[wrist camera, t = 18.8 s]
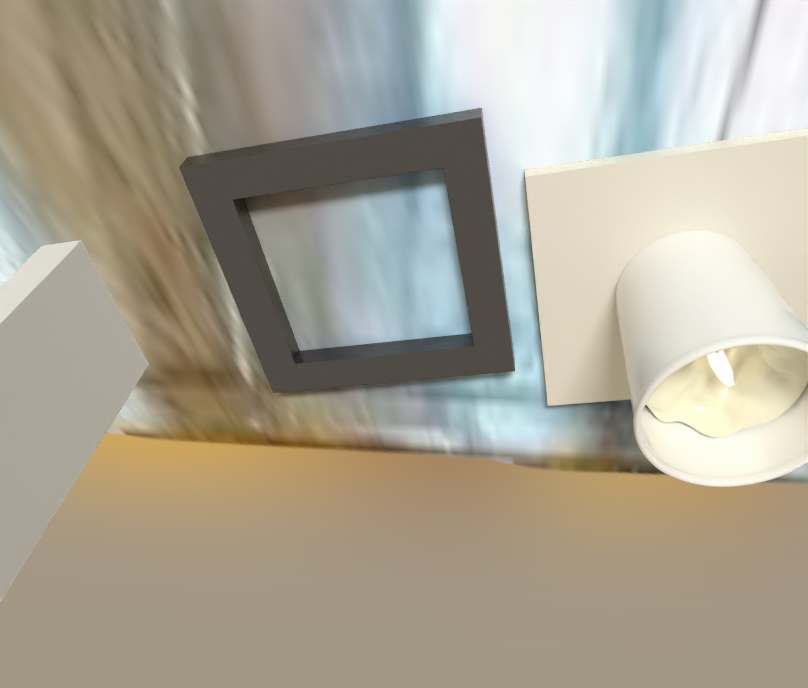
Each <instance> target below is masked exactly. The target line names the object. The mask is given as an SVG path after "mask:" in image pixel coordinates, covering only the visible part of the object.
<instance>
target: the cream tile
mask: <svg viewBox="0 0 808 688" xmlns="http://www.w3.org/2000/svg"><path fill="white" fill-rule="evenodd" d="M524 171H525V181H526V191H527V201H528V211H529V221H530V231H531V241H532V251H533V262H534V272H535V282H536V292H537V302H538V312H539V322H540V332H541V342H542V352H543V362H544V372H545V382H546V392H547V402H548V406H553V405H566V404H578V403H591V402H604V401H616V400H629V399H630V393H629V387H628V381H627V374H626V368H625V362H624V356H623V349H622V343H621V337H620V330H619V324H618V317H617V309H616V288H617V284H618V281H619V278H620V275H621V273H622V271H623V270H624V268H625V267H626V265H627V264H628V262H629V261H630V260H631V259H632V258H633V257H634V256H635V255H636V254H637V253H638V252H639V251H640V250H641V249H643V248H644V247H646V246H647V245H649V244H650V243H652V242H654V241H655V240H657V239H660V238H662V237H664V236H667V235H670V234H673V233H677V232H682V231H689V230H706V231H712V232H717V233H720V234H723V235H726V236H728V237H730V238H732V239H734V240H735V241H737V242H738V243H740V244H741V245H742V246H743V247H744V248H745V249H746V250H747V251H748V252H749V253H750V254H751V255H752V257H753V258H754V259H755V260H756V262H757V263H758V264H759V265H760V267H761V268H762V269H763V271H764V272H765V273H766V274H767V276H768V277H769V278H770V280H771V281H772V282H773V283H774V285H775V286H776V287H777V289H778V290H779V291H780V293H781V294H782V295H783V297H784V298H785V299H786V300H787V302H788V303H789V304H790V306H791V307H792V308H793V310H794V311H795V312H796V314H797V315H798V316H799V317H800V319H801V320H802V321H803V323H804V324H805V325H806V327H807V328H808V128H804V129H797V130H790V131H783V132H777V133H770V134H763V135H756V136H750V137H743V138H736V139H729V140H723V141H716V142H709V143H702V144H695V145H689V146H682V147H675V148H668V149H662V150H655V151H648V152H641V153H635V154H628V155H621V156H614V157H608V158H601V159H594V160H587V161H580V162H574V163H567V164H560V165H553V166H547V167H540V168H533V169H526V170H524Z"/></svg>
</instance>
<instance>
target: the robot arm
mask: <svg viewBox="0 0 808 688" xmlns="http://www.w3.org/2000/svg"><path fill="white" fill-rule="evenodd" d="M148 365H149V364H148V362H147V360H146V358H145V356H144V354H143V353H142V351H141V349H140V347H139V345H138V343H137V341H136V340H135V338H134V336H133V334H132V332H131V330H130V329H129V327H128V325H127V323H126V321H125V319H124V318H123V316H122V314H121V312H120V310H119V308H118V307H117V305H116V303H115V301H114V299H113V297H112V295H111V294H110V292H109V290H108V288H107V286H106V284H105V283H104V281H103V279H102V277H101V275H100V273H99V272H98V270H97V268H96V266H95V264H94V262H93V260H92V259H91V257H90V255H89V253H88V251H87V249H86V248H85V246H84V244H83V242H82V240H79V241H72V242H65V243H59V244H52V245H45V246H42V247H41V248H40V249H39V250H38V251H37V252H36V253H34V254H33V255H32V256H31V257H30V258H29V259H28V260H27V261H26V262H25V263H24V264H23V265H22V266H21V267H20V268H19V269H18V270H17V271H16V272H14V273H13V274H12V275H11V276H10V277H9V278H8V279H7V280H6V281H5V282H4V283H3V284H2V285H1V286H0V602H1V600H2V598H3V597H4V595H5V594H6V592H7V590H8V589H9V587H10V585H11V584H12V582H13V581H14V579H15V578H16V576H17V574H18V573H19V571H20V569H21V568H22V566H23V565H24V563H25V562H26V560H27V558H28V557H29V555H30V553H31V552H32V550H33V549H34V547H35V545H36V544H37V542H38V541H39V539H40V537H41V536H42V534H43V533H44V531H45V530H46V528H47V526H48V525H49V523H50V521H51V520H52V518H53V517H54V515H55V513H56V512H57V510H58V509H59V507H60V505H61V504H62V502H63V501H64V499H65V498H66V496H67V494H68V493H69V491H70V489H71V488H72V486H73V485H74V483H75V481H76V480H77V478H78V477H79V475H80V474H81V472H82V470H83V469H84V467H85V466H86V464H87V462H88V461H89V459H90V458H91V456H92V454H93V453H94V451H95V450H96V448H97V446H98V444H99V443H100V442H101V440H102V438H103V437H104V435H105V434H106V432H107V430H108V429H109V427H110V426H111V424H112V422H113V421H114V419H115V418H116V416H117V414H118V413H119V411H120V410H121V408H122V406H123V405H124V403H125V402H126V400H127V398H128V397H129V395H130V394H131V392H132V390H133V389H134V387H135V386H136V384H137V382H138V381H139V379H140V378H141V376H142V374H143V373H144V371H145V370H146V368H147V366H148Z"/></svg>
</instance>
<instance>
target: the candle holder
mask: <svg viewBox="0 0 808 688" xmlns="http://www.w3.org/2000/svg"><path fill="white" fill-rule="evenodd" d="M616 309H617V317H618V324H619V330H620V337H621V343H622V349H623V356H624V362H625V368H626V374H627V381H628V387H629V393H630V400H631V406H632V412H633V428H634V434H635V438H636V441H637V444H638V446H639V448H640V450H641V452H642V453H643V455H644V456H645V457H646V458H647V460H648V461H649V462H650V463H651V464H652V465H654V466H655V467H656V468H657V469H659V470H660V471H662V472H664V473H665V474H667V475H669V476H671V477H673V478H676V479H678V480H681V481H684V482H688V483H692V484H697V485H703V486H713V487H732V486H743V485H750V484H755V483H760V482H764V481H767V480H771V479H774V478H777V477H780V476H782V475H785V474H787V473H790V472H792V471H794V470H796V469H798V468H800V467H802V466H803V465H805V464H807V463H808V328H807V327H806V325H805V324H804V323H803V321H802V320H801V319H800V317H799V316H798V315H797V314H796V312H795V311H794V310H793V308H792V307H791V306H790V304H789V303H788V302H787V300H786V299H785V298H784V297H783V295H782V294H781V293H780V291H779V290H778V289H777V287H776V286H775V285H774V283H773V282H772V281H771V280H770V278H769V277H768V276H767V274H766V273H765V272H764V271H763V269H762V268H761V267H760V265H759V264H758V263H757V262H756V260H755V259H754V258H753V257H752V255H751V254H750V253H749V252H748V251H747V250H746V249H745V248H744V247H743V246H742V245H741V244H740V243H738V242H737V241H735V240H734V239H732V238H730V237H728V236H726V235H723V234H720V233H717V232H712V231H706V230H689V231H682V232H677V233H673V234H670V235H667V236H664V237H662V238H660V239H657V240H655V241H654V242H652V243H650V244H649V245H647V246H646V247H644V248H643V249H641V250H640V251H639V252H638V253H637V254H636V255H635V256H634V257H633V258H632V259H631V260H630V261H629V262H628V264H627V265H626V267H625V268H624V270H623V271H622V273H621V275H620V278H619V281H618V284H617V288H616Z"/></svg>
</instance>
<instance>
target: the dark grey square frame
mask: <svg viewBox="0 0 808 688" xmlns="http://www.w3.org/2000/svg"><path fill="white" fill-rule="evenodd" d="M179 168H180V170H181V173H182V175H183V178H184V180H185V182H186V185H187V187H188V190H189V192H190V194H191V197H192V199H193V202H194V204H195V206H196V209H197V211H198V214H199V216H200V218H201V221H202V223H203V226H204V228H205V230H206V233H207V235H208V238H209V240H210V242H211V245H212V247H213V250H214V252H215V254H216V257H217V259H218V262H219V264H220V266H221V269H222V271H223V274H224V276H225V278H226V281H227V283H228V286H229V288H230V290H231V293H232V295H233V298H234V300H235V302H236V305H237V307H238V310H239V312H240V314H241V317H242V319H243V322H244V324H245V326H246V329H247V331H248V333H249V336H250V338H251V341H252V343H253V345H254V348H255V350H256V353H257V355H258V357H259V360H260V362H261V365H262V367H263V369H264V372H265V374H266V377H267V379H268V381H269V384H270V386H271V389H272V391H273V393H276V392H287V391H298V390H310V389H321V388H332V387H343V386H354V385H365V384H376V383H387V382H399V381H410V380H421V379H432V378H443V377H454V376H465V375H476V374H487V373H499V372H510V371H515V360H514V351H513V343H512V336H511V328H510V321H509V313H508V305H507V298H506V290H505V282H504V275H503V267H502V260H501V252H500V244H499V237H498V229H497V222H496V214H495V206H494V199H493V191H492V184H491V176H490V168H489V161H488V153H487V145H486V138H485V130H484V123H483V115H482V108H479V109H473V110H467V111H461V112H455V113H449V114H443V115H437V116H431V117H425V118H419V119H413V120H407V121H401V122H395V123H389V124H383V125H377V126H372V127H366V128H360V129H354V130H348V131H342V132H336V133H330V134H324V135H318V136H312V137H306V138H300V139H294V140H288V141H282V142H276V143H270V144H264V145H258V146H252V147H246V148H240V149H234V150H228V151H222V152H216V153H210V154H205V155H199V156H193V157H188V158H187V159H186V160H185V161H184V162H183V163H182V165H181V166H180V167H179ZM437 168H444V174H445V180H446V185H447V191H448V197H449V203H450V208H451V214H452V220H453V226H454V231H455V237H456V243H457V249H458V255H459V260H460V266H461V272H462V278H463V283H464V289H465V295H466V301H467V306H468V312H469V318H470V324H471V329H472V334H463V335H453V336H443V337H434V338H424V339H414V340H404V341H394V342H385V343H375V344H365V345H355V346H345V347H336V348H326V349H316V350H306V351H299V348H298V346H297V343H296V340H295V338H294V335H293V332H292V329H291V327H290V324H289V321H288V319H287V316H286V313H285V310H284V308H283V305H282V302H281V300H280V297H279V294H278V292H277V289H276V286H275V283H274V281H273V278H272V275H271V273H270V270H269V267H268V264H267V262H266V259H265V256H264V254H263V251H262V248H261V245H260V243H259V240H258V237H257V235H256V232H255V229H254V226H253V224H252V221H251V218H250V216H249V213H248V210H247V207H246V205H245V202H244V199H243V198H246V197H253V196H260V195H266V194H273V193H279V192H286V191H292V190H299V189H306V188H312V187H319V186H325V185H332V184H339V183H345V182H352V181H358V180H365V179H371V178H378V177H385V176H391V175H398V174H404V173H411V172H417V171H424V170H431V169H437Z"/></svg>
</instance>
